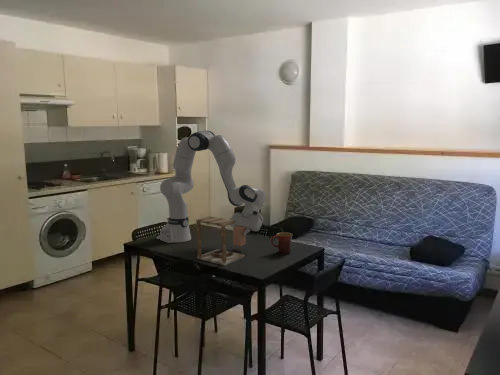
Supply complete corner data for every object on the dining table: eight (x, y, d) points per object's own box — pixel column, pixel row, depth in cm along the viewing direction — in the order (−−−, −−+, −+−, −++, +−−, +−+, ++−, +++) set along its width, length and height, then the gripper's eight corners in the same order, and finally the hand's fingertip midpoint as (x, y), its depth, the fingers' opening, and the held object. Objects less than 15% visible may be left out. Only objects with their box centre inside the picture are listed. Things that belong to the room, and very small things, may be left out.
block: (233, 244, 238) (233, 227, 237) (238, 242, 242) (238, 225, 240) (240, 246, 235) (240, 228, 234) (245, 244, 239) (245, 226, 237)
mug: (289, 249, 239) (289, 231, 238) (294, 254, 231) (294, 235, 229) (269, 251, 237) (268, 233, 236) (272, 255, 229) (272, 237, 227)
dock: (197, 258, 225) (196, 219, 222) (218, 251, 238) (217, 213, 235) (224, 265, 214) (223, 224, 211) (244, 257, 227) (244, 218, 224)
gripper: (233, 208, 247) (222, 228, 241) (261, 213, 235) (250, 234, 229) (237, 214, 252) (227, 234, 245) (266, 219, 239) (255, 240, 233)
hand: (238, 234), depth 237 cm, fingers closed on block, 5 cm apart
